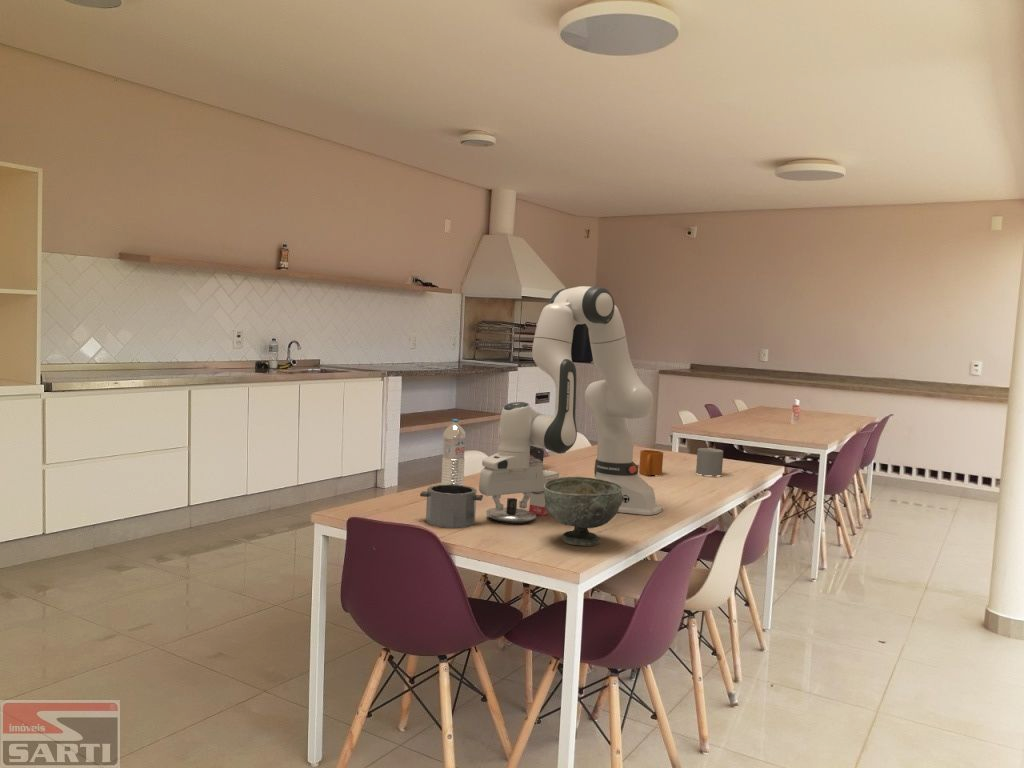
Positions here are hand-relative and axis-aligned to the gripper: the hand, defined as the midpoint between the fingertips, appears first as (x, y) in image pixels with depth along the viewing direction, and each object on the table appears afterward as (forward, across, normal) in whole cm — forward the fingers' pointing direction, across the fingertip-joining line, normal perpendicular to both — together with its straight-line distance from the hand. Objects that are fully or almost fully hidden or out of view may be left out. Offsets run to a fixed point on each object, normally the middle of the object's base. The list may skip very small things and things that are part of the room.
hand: (511, 509), depth 222 cm
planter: (+3, -52, -65) cm, 84 cm away
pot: (+3, +17, -4) cm, 18 cm away
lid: (+3, 0, 0) cm, 3 cm away
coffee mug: (+3, -118, -31) cm, 122 cm away
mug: (+3, -93, -40) cm, 101 cm away
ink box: (+3, -14, -4) cm, 15 cm away
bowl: (+3, -3, +27) cm, 28 cm away
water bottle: (+3, +3, -28) cm, 29 cm away
